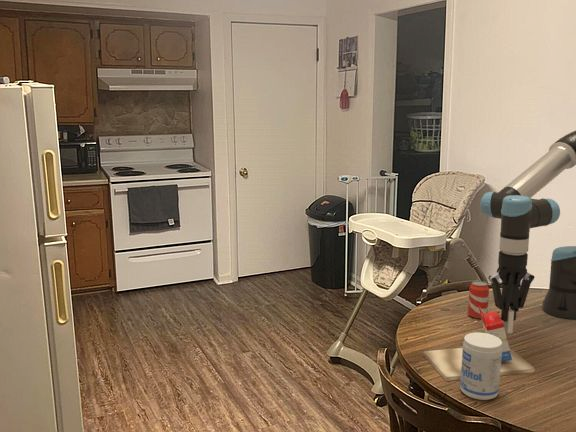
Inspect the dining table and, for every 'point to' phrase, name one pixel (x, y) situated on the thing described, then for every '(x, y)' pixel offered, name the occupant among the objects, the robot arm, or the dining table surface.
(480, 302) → the beverage can
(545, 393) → the dining table surface
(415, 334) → the dining table surface
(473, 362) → the supplement tub
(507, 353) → the ink box
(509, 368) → the open book
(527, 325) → the dining table surface
